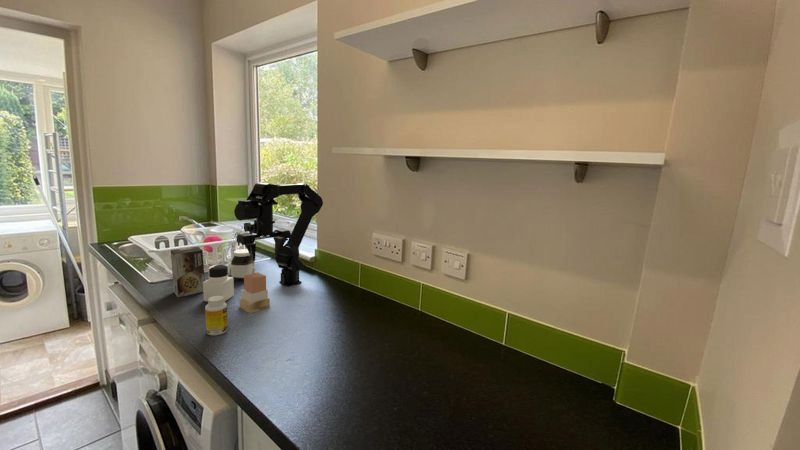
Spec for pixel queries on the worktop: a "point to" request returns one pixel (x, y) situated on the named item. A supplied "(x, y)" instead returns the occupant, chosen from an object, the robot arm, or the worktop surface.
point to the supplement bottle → (216, 316)
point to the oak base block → (254, 305)
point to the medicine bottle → (218, 283)
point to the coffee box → (187, 271)
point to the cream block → (254, 295)
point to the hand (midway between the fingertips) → (265, 258)
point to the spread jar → (241, 265)
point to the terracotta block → (254, 282)
